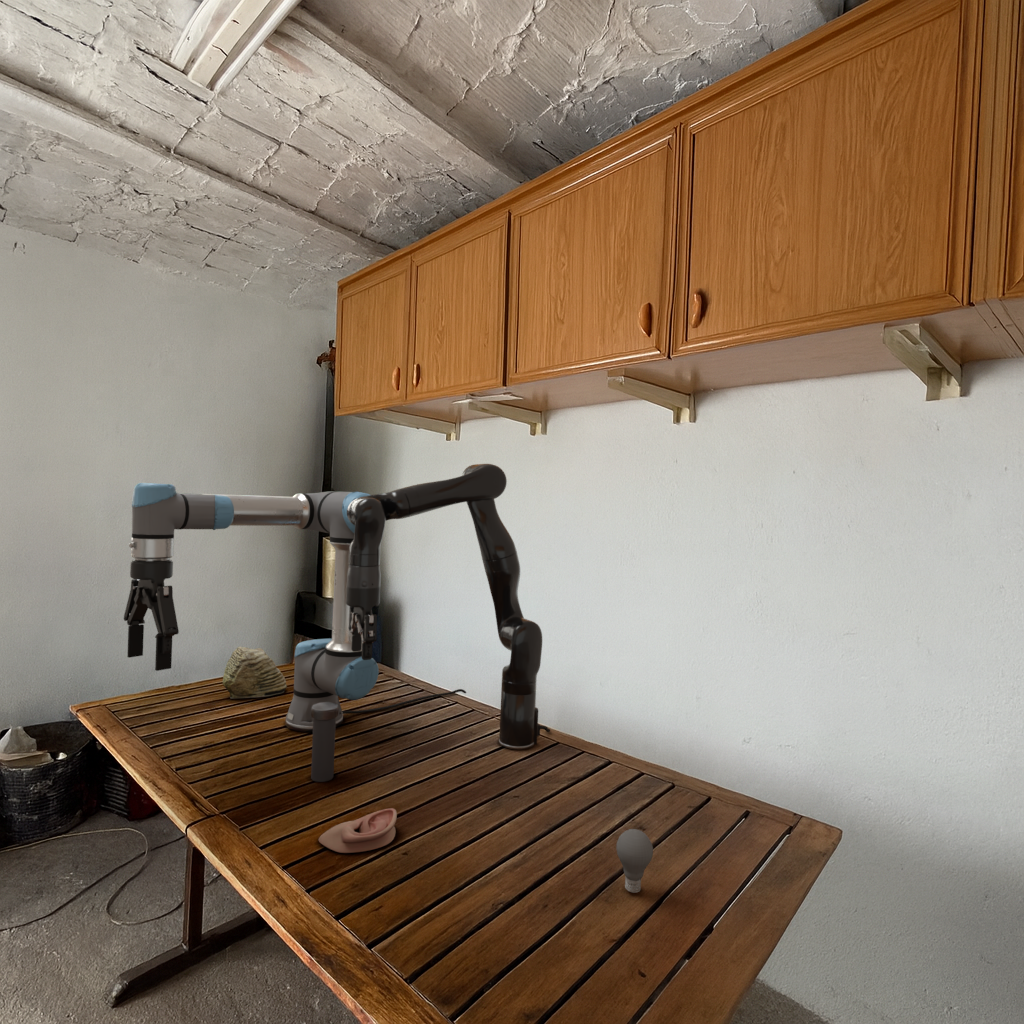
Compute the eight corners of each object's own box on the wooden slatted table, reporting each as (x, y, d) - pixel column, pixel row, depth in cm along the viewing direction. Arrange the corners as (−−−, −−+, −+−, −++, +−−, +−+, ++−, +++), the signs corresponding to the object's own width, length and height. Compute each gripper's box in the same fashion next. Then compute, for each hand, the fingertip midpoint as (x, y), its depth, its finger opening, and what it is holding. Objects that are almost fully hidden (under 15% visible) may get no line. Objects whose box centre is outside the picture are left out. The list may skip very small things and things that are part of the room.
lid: (320, 710, 146) (320, 700, 146) (343, 713, 145) (343, 704, 145) (305, 718, 141) (306, 708, 141) (329, 721, 139) (329, 711, 139)
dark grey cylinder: (318, 771, 146) (321, 703, 146) (337, 774, 145) (340, 706, 144) (306, 779, 141) (309, 710, 141) (325, 783, 140) (328, 713, 140)
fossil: (218, 695, 195) (220, 647, 195) (278, 685, 208) (279, 640, 207) (228, 703, 189) (230, 653, 188) (289, 692, 201) (290, 645, 201)
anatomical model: (310, 826, 114) (340, 797, 125) (309, 848, 114) (339, 817, 125) (379, 837, 111) (403, 806, 122) (378, 859, 111) (403, 827, 123)
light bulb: (610, 879, 108) (613, 822, 108) (644, 879, 109) (647, 822, 109) (619, 902, 102) (622, 840, 102) (655, 901, 103) (658, 840, 103)
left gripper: (108, 554, 134) (104, 654, 134) (159, 565, 118) (155, 678, 119) (146, 552, 140) (143, 648, 140) (199, 563, 124) (195, 671, 124)
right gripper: (389, 588, 140) (387, 661, 141) (370, 580, 153) (368, 646, 153) (355, 589, 137) (353, 664, 137) (339, 581, 149) (337, 649, 150)
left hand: (148, 662), depth 129 cm, fingers open, 13 cm apart
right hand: (361, 655), depth 145 cm, fingers open, 8 cm apart
